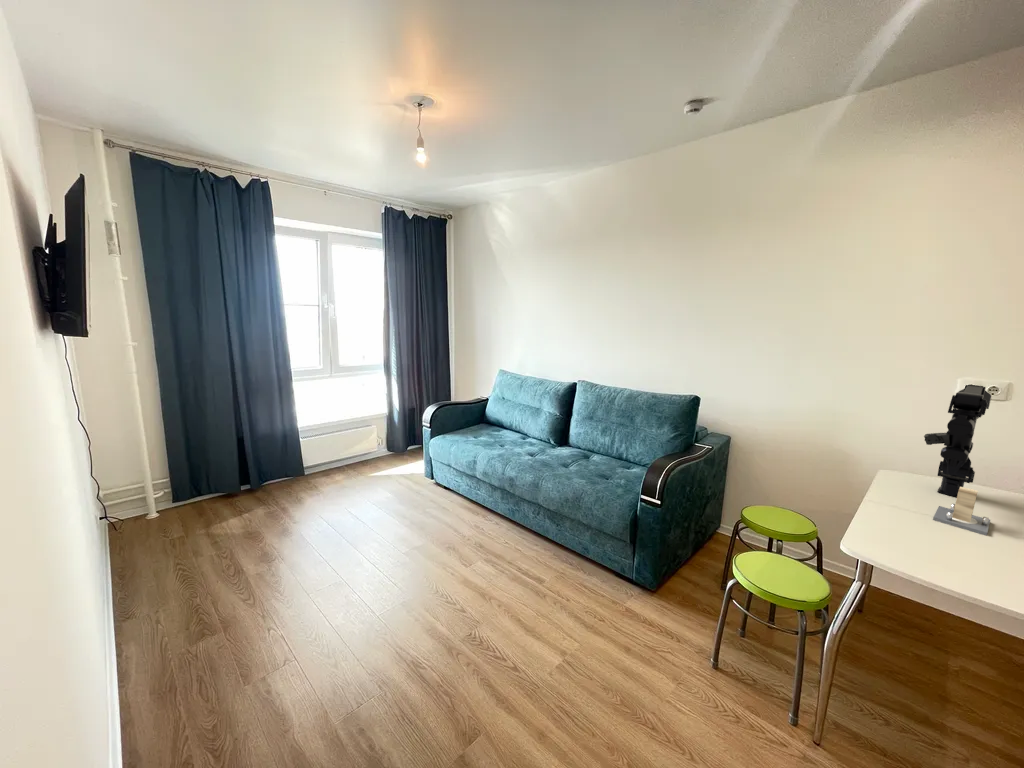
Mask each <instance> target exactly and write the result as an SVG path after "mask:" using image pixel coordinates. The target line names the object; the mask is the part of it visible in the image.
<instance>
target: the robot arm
mask: <svg viewBox="0 0 1024 768" xmlns="http://www.w3.org/2000/svg"><path fill="white" fill-rule="evenodd" d="M991 400H992V395H991V393H989V392H988V391H987V390H986V386H984V385H978V384H977V385H976V384H965V385H964V388H963V389H960V390H959V391H957V392H956V393H955V394H953V395H952V397H951V400H950V403H949V407H948V410H947V413H948V414H951V415H952V416H951V419H950V420H949V421H948V423H947V425H946V428H947V431H946V432H935V433H934V432H933V433H926V434H924V435H923V437H924V442H925V443H926V445H927V446H931V445H939V444H941V445H942V444H943V446H944V447H942V448H941V450H940V456H941V458H943V460H940V461H939V465H938V471H937V477H942V479H941V483H940V486H939V487H938V489H937V490H936V492H937V493H939V494H942V495H946V496H947V495H948V496H950V497H955V498H957V495H958V491H959V488H960V487H964V486H965V483H966V484H967V483H968V484H970V483H974V479H975V473H976V471H975V470H974V467H972V460H971V459H970V457H969V454H971V451H972V449H973V447H974V442H973V438H974V436H975V429H976V424H977V420H978V419H980V418H982V417H983V416H985V414H986V412H987V410H989V408H990V404H991Z"/></svg>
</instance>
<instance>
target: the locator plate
mask: <svg viewBox="0 0 1024 768" xmlns="http://www.w3.org/2000/svg"><path fill="white" fill-rule="evenodd" d="M955 504H956V503H952V504H950V505H951V506H950V508H948V507H945V506H941V505H938V507H937V509H936V511H935V513H934V514H933V516H932V517H933V518H932V520H933V521H936V522H940V523H942V524H946V525H949V526H953V527H956V528H959V529H963V530H965V531H970V532H973V533H977V534H979V535H983V536H987V535H988V533H989V532H988V531H989V529H990V523H991V519H990V518H989V517H987V516H979V515H974V514H972V518H971V521H970V523H969V522H966V521H962V520H959V519H955V518H952V517H953V512H954V508H955Z"/></svg>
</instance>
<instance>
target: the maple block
mask: <svg viewBox="0 0 1024 768" xmlns="http://www.w3.org/2000/svg"><path fill="white" fill-rule="evenodd" d="M978 492H979V490H976V489H972V488H968V487H964V486H963V487H960V488H959V491H958V495H957V497H956V499H955V503H954V504H955V508H954V512H953V517H952V518H955V519H959V520H962V521H966V522H969V523H970V521H971V518H972V515H973V513H974V509H975V504H976V501H977V496H978Z"/></svg>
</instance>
